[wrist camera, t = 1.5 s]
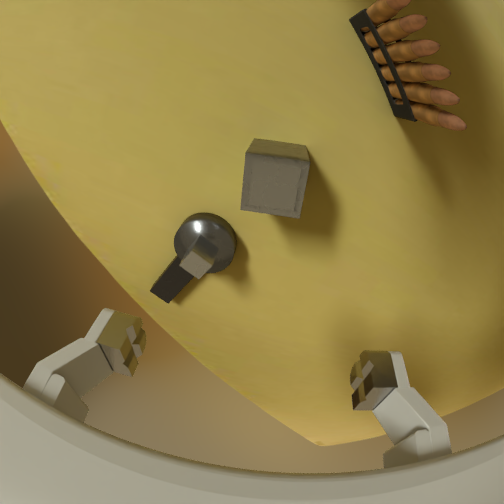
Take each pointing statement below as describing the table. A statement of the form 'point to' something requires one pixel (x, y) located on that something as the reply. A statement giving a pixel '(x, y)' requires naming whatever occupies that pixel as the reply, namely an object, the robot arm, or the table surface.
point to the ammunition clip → (405, 64)
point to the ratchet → (197, 253)
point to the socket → (275, 178)
